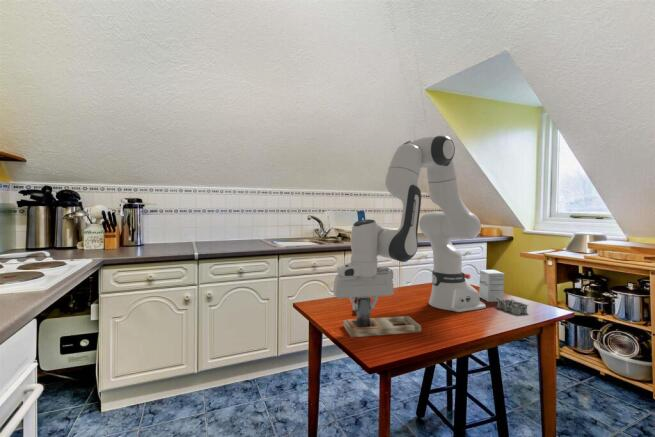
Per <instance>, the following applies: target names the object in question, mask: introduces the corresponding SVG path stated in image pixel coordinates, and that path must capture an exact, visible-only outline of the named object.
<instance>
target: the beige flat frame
mask: <svg viewBox="0 0 655 437" xmlns="http://www.w3.org/2000/svg"><path fill="white" fill-rule="evenodd" d="M402 324H403V325H402ZM343 327H344V329H345V331H346V332H347V333H348V334H349V336H350V337H351V338H357V337H359V338H361V337H373V336H384V335H385V336H387V335H399V334H412V333H413V334H414V333H421V332H422V325H421V324H419V323H418V322H416V320H414V319H413V318H412V317H411V316H409V315H404V316H403V315H402V316H392V317H391V316H388V317H375V318H374V317H372V318H371V317H370V327H360V328H357V318H353V319H344V320H343Z"/></svg>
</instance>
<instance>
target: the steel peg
mask: <svg viewBox="0 0 655 437" xmlns="http://www.w3.org/2000/svg"><path fill="white" fill-rule="evenodd" d="M356 300H357V301H356V303H357V305H358V310H357V314H356V319H357V327H356V328H360V327H370V318H371V309H370V303H371V297H356Z"/></svg>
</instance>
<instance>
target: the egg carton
mask: <svg viewBox="0 0 655 437" xmlns="http://www.w3.org/2000/svg"><path fill="white" fill-rule="evenodd" d="M496 299H497V300H499V301H498V302H497V308H498V309H500V310H501V309H502V310H504V311H506V312H510V313H511V314H513V315H518V316H519V315H521V314H528V307H529V304H526V303H523V302H520V301H516V300H515V299H513V298H511V299H505V300H504V299H503V300H502V301H501V300H500V299H498V298H496Z"/></svg>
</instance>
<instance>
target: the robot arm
mask: <svg viewBox="0 0 655 437" xmlns="http://www.w3.org/2000/svg"><path fill="white" fill-rule="evenodd" d="M455 146H456V145H455V143H454V141H453V140H452V138H451V137H449V136H447V135H436V136H424V137H422V138H421V137H420V138H418V139H414V140H408V141H406V142H404V143H402V144H401V145H399V146H398V147H397V148H396V149H395V150H396V151H395V153H394V154H393V156H392V158H391V161H390V164H389V166H388V169H387V172H386V176H385V187H386V188H385V189H386V190H387V191H388V192H389V194H390V195H391V196H394V197H395V198H397V199H399V200H400V201H401V203H402V212H401V213H402V214H401V220H400V227H398V229H397V230H396V229H389V228H385V227H383V226H381V225H379V224H378V223H377V222H376V220H375V219H360V220H358V221H355V222H354V223H353V224H352V227H351V234H350V248H351V255H350V262H348V263H345V264H342V265H339V266H338V267H337V268H336V272H337V274H336V275H335V277H334V281H333V292H332V293H333V295H334V296H335V298H336V299H349V301H350V303H351V304H352V310H353V311H355V310H358V305H357V304H356V303H355V300H356V298H357V297H370V298H372V299H371V300H372V301H370V310H375V309H376V308H375V306H376V304H377V302H378V300H379V297H386V296H388V297H389V296H392V295H393V294H394V292H395V290H394V289H395V288H394V281H393V280H394V271H393V270H392V269H391V268H390V267H378V256H379V257H383V258H388V259H392V260H395V261H397V262H401V263H406V262H408V261H409V260H411V259H412V258H413V257H414V256H415V255H416V253H417V252H418V246H419V245H418V244H419V240H418V230H419V228H420V231H421V233H422V234H423V235H424V236H425V237H426V239H427V240H428V242H429V243H430V245H431V249H432V254H433V255H432V256H433V269H432V271H431V272H432V273H431V274H432V275H431V281H432V282H431V283H432V286H431V293H430V296H429V297H430V298H429V300H428V305H430V306H431V307H433V308H435V309H436V308H437V309H440V310H445V311H453V312H456V313H460V312H461V313H463V312H467V311H474V310H480V309H482V310H483V309H486V308H487V306H486V303H484V302H483V301H481V300H480V297H479V290H477V289H476V288H474V287H473V285H471V284H470V283H469V282H467V281H466V279H467V280H470V279H471V276H472V275H471V274H469V273H467V272H466V273H464V272H463V270H462V269H463V268H462V267H463V265H462V264H463V263H462V262H463V255H462V253H461V251H460V250H459V249H458V248H456V247H455V246H454V245H453V243H452V240H462V241H463V240H473V239H476V237H478V235H479V233H480V232H481V228H482V227H481V226H482V225H481V220H480V219H479V217H478V215H476V214H474V213H473V212H472V211H470V209H468V207H467V206H466V205H465V203H464V202H463V198H461V194H460V188H459V184H458V177H457V175H458V174H457V170H456V167H455V166H456V165H455V162H454V156H455V151H456V150H455V149H456V147H455ZM421 168H426V172H427V173H426V175H427V183H428V185H427V186H428V190H429V192H428V193H429V196H430V197H429V198H430V200H431V202H432V203H433V204H435V205H437V206H438V207H439V208H440V210H441V211H432V212H431V211H429V212H426V213H423V214H422V215H421V217H420V214H421V205H422V192H421V189H420V187H418V183H419V182H418V181H419V177H420V174H421Z"/></svg>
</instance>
